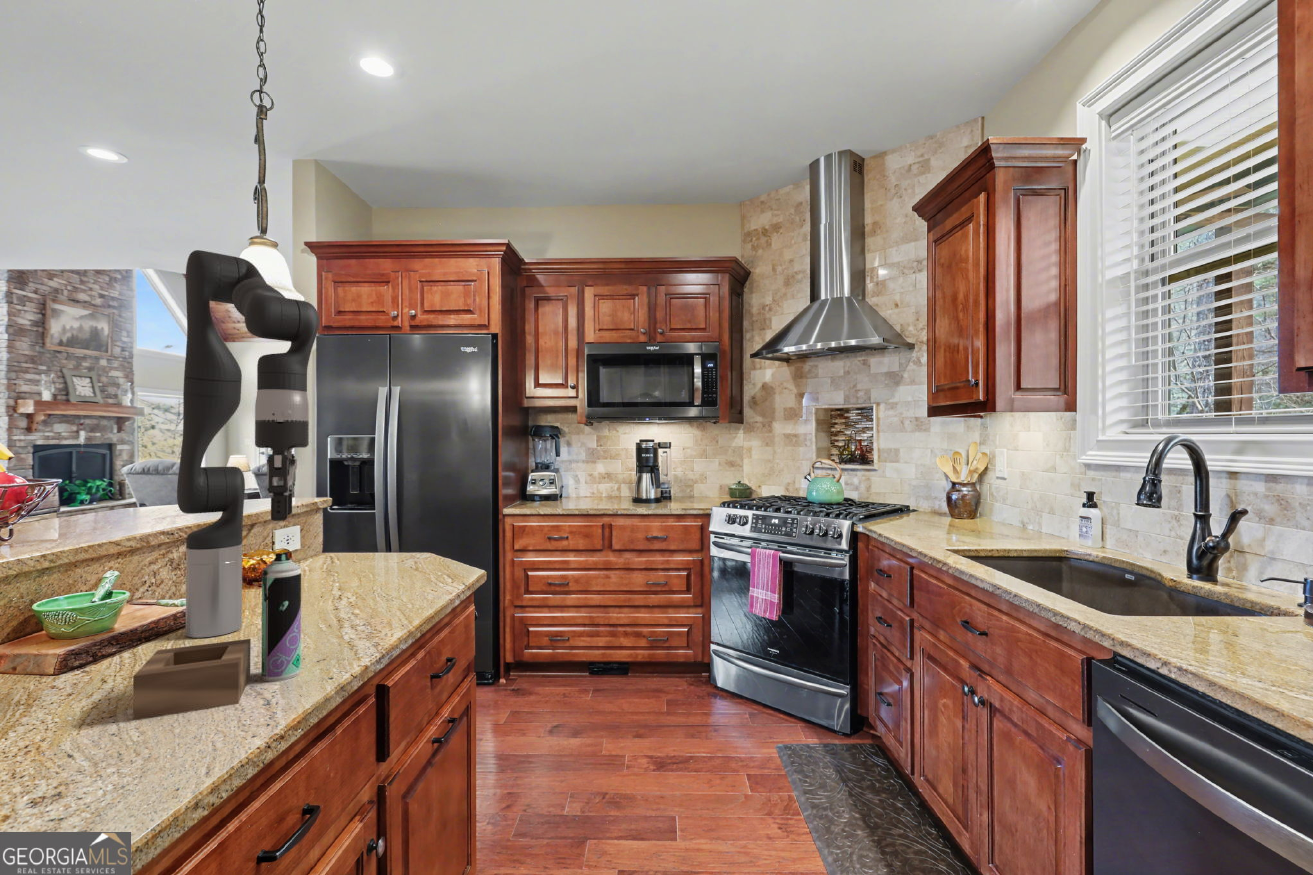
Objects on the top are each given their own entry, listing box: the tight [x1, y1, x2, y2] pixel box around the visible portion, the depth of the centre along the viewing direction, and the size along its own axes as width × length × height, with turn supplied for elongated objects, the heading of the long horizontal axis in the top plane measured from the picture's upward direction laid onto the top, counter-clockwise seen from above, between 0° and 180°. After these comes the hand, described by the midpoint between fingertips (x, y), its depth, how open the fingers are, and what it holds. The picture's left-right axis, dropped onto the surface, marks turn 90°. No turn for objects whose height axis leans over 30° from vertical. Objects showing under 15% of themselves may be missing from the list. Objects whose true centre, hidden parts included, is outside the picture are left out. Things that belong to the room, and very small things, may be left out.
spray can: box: [260, 551, 302, 683], centre depth 100 cm, size 6×6×20 cm
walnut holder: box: [132, 638, 251, 721], centre depth 92 cm, size 12×12×6 cm
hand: (282, 517), depth 100 cm, fingers open, 8 cm apart
